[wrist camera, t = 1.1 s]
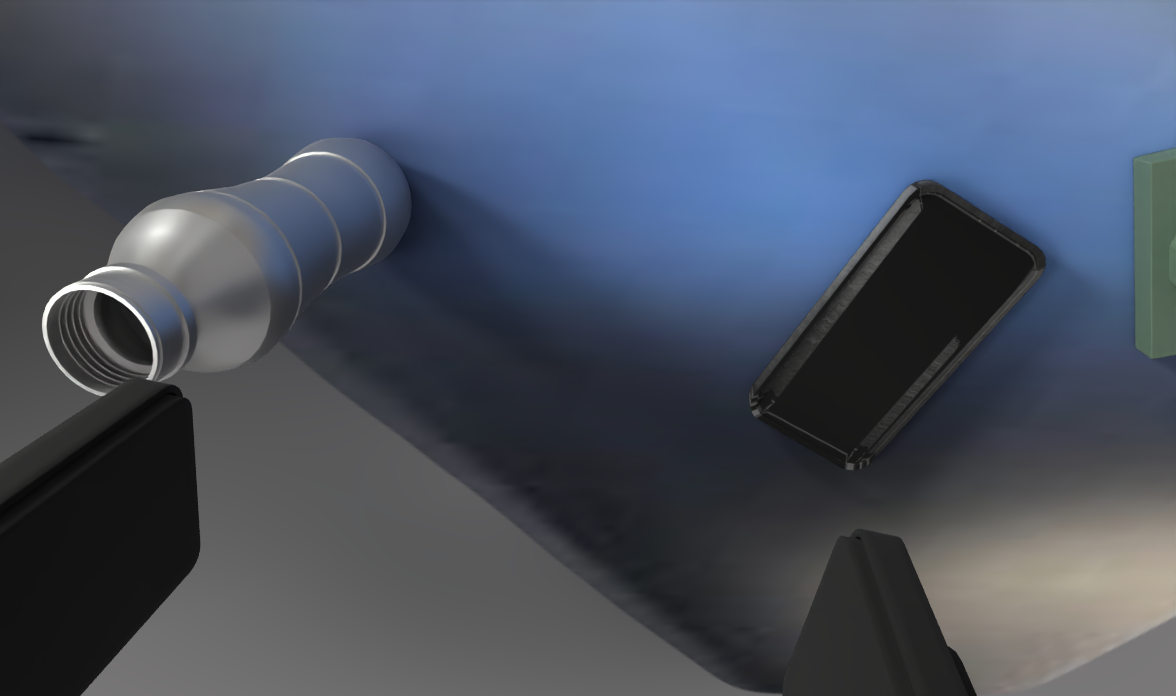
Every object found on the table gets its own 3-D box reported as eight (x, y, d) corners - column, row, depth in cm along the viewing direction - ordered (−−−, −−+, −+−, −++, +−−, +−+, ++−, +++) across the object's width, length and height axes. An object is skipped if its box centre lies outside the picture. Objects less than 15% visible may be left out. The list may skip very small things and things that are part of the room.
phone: (741, 410, 41) (926, 175, 35) (740, 400, 42) (919, 170, 36) (859, 478, 42) (1058, 260, 36) (855, 467, 43) (1048, 253, 37)
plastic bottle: (443, 169, 39) (234, 303, 21) (394, 275, 42) (173, 475, 24) (330, 106, 38) (14, 187, 20) (289, 218, 41) (-23, 378, 23)
